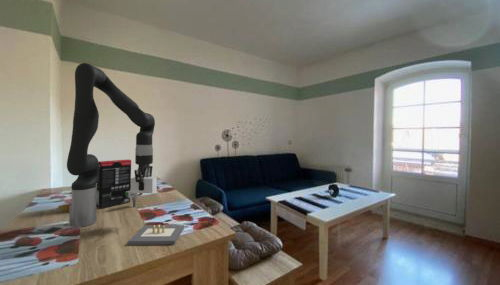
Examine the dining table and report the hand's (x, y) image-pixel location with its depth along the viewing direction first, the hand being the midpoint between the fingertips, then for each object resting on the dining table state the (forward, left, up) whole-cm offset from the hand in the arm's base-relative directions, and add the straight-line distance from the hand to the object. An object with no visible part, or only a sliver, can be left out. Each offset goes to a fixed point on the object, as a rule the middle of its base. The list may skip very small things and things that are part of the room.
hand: (143, 188), depth 99 cm
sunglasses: (-49, +21, -18) cm, 56 cm away
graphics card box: (-30, +27, -17) cm, 44 cm away
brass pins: (+12, -13, -16) cm, 24 cm away
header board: (+12, -13, -17) cm, 25 cm away
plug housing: (0, 0, -2) cm, 2 cm away
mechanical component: (-16, +23, -17) cm, 33 cm away
